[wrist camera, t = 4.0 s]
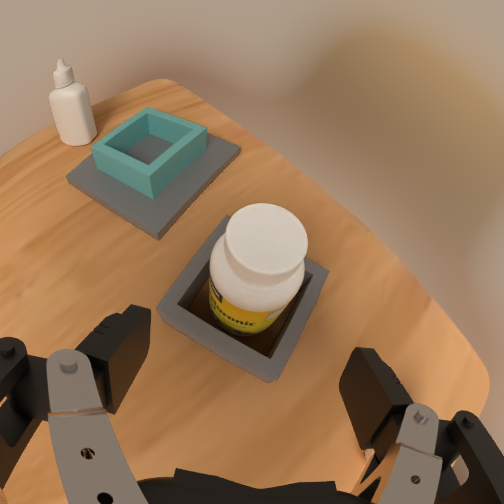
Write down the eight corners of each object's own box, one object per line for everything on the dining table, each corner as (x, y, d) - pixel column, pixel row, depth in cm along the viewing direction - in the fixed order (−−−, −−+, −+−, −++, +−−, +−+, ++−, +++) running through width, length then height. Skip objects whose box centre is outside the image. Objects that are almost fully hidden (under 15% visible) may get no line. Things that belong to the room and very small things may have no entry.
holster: (162, 320, 20) (155, 308, 17) (224, 236, 24) (226, 215, 22) (267, 382, 19) (277, 379, 16) (316, 286, 23) (329, 270, 21)
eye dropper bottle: (85, 123, 31) (69, 50, 20) (101, 137, 29) (84, 54, 19) (59, 139, 28) (38, 65, 18) (72, 155, 27) (48, 71, 17)
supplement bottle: (194, 300, 21) (186, 225, 13) (245, 261, 23) (267, 176, 15) (242, 352, 20) (269, 311, 11) (291, 307, 22) (343, 241, 14)
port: (68, 182, 25) (57, 156, 22) (149, 118, 32) (147, 92, 29) (158, 240, 23) (152, 211, 20) (239, 153, 30) (244, 125, 27)
